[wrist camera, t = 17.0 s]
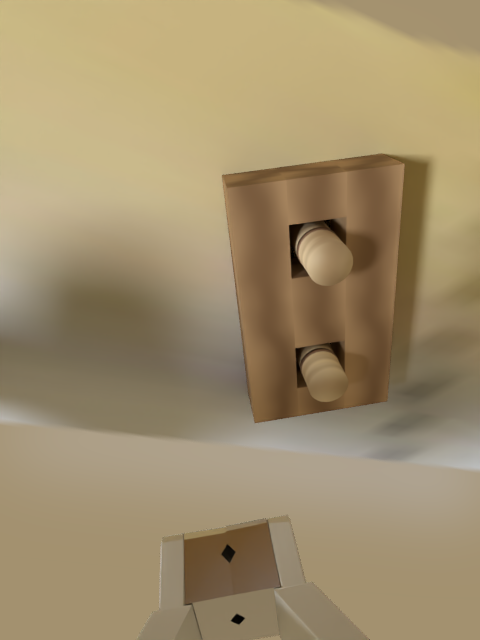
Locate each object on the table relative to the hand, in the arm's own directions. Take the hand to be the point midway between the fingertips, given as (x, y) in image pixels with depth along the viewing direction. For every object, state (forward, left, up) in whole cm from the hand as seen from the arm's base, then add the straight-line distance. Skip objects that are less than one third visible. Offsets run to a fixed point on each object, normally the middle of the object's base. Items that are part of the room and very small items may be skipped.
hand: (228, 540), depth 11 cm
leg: (+10, -17, -33) cm, 38 cm away
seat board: (+10, -11, -33) cm, 36 cm away
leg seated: (+10, -5, -33) cm, 35 cm away
